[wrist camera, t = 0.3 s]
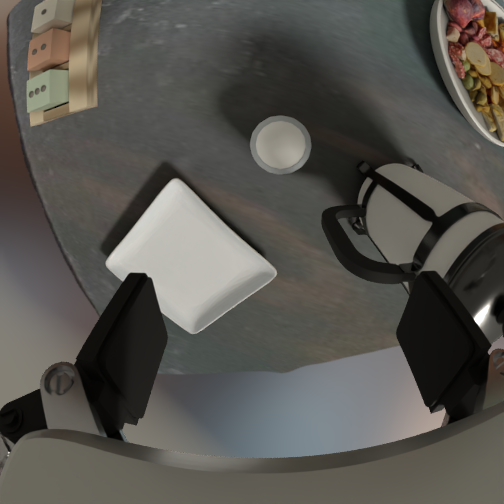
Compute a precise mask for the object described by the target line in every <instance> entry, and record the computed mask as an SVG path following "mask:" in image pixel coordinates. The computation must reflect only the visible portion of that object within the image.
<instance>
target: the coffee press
mask: <svg viewBox="0 0 504 504" xmlns="http://www.w3.org/2000/svg"><path fill="white" fill-rule="evenodd" d="M357 168H358V170H359V171H360V172H361V173H362V174H363V175H364V176H365V177H366V178H367V179H366V180H365V181H364V183H363V185H362V187H361V189H360V192H359V196H358V205H344V206H335V207H330V208H328V209H326V210H325V211H323V213H322V228H323V230H324V233H325V235H326V237H327V239H328V241H329V243H330V245H331V247H332V249H333V251H334V253H335V255H336V257H337V259H338V260H339V262H340V263H341V264H342V265H343V266H344V267H345V268H346V269H347V270H348V271H350V272H351V273H353V274H354V275H356V276H358V277H360V278H362V279H365V280H367V281H371V282H375V283H382V284H399V283H401V284H402V285H403V287H404V288H405V290H406V291H407V293H408V294H409V296H410V294H411V291H412V288H413V285H414V282H415V279H416V277H417V276H418V275H419V274H420V273H421V272H422V271H436V272H438V274H439V275H440V276H441V277H442V278H443V280H444V281H445V282H446V283H447V284H448V286H449V287H450V288H451V289H452V291H453V292H454V293H455V295H456V296H457V297H458V298H459V300H460V301H461V302H462V304H463V305H464V306H465V308H466V309H467V310H468V312H469V313H470V314H471V316H472V317H473V318H474V320H475V321H476V323H477V324H478V326H479V327H480V328H481V330H482V331H483V333H484V334H485V336H486V337H487V339H488V340H489V342H490V343H491V344H492V343H493V342H495V341H496V340H497V339H499V338H500V337H501V336H502V335H503V337H504V221H503V220H502V219H501V217H500V216H499V215H498V214H496V213H495V212H494V211H492V210H490V209H489V208H487V207H486V206H484V205H482V204H480V203H475V202H474V201H472V200H470V199H469V198H467V197H466V196H464V195H462V194H460V193H459V192H457V191H455V190H454V189H452V188H450V187H448V186H446V185H445V184H443V183H441V182H439V181H437V180H435V179H433V178H432V177H430V176H428V175H426V174H424V173H423V171H422V169H421V167H420V166H419V165H418V164H417V165H414V166H413V167H412V168H411V167H409V166H406V165H403V164H397V163H393V164H387V165H384V166H381V167H379V168H378V169H376V170H373V169H372V168H371V167H370V166H368V165H367V164H366V163H365V162H364V161H362V162H361V163H360V164H359V165H358V166H357ZM346 217H359V219H360V221H358V222H356V223H355V224H354V225H353V227H352V228H353V230H354V231H355V232H356V233H357V234H358V235H368V237H369V238H370V240H371V241H372V242H373V244H374V245H375V246H376V248H377V249H378V250H379V252H380V253H381V255H382V256H383V257H384V259H385V260H386V262H387V263H382V262H377V261H374V260H371V259H369V258H367V257H365V256H363V255H362V254H361V253H359V252H358V251H357V250H356V249H355V247H354V246H353V244H352V242H351V241H350V239H349V238H348V236H347V234H346V233H345V231H344V230H343V228H342V227H341V225H340V223H339V222H338V219H340V218H346ZM363 227H364V229H362V228H363ZM369 235H370V236H369ZM372 239H373V240H372ZM375 243H376V244H375ZM378 247H379V248H378ZM381 251H382V252H381ZM383 254H384V255H383ZM386 258H387V259H386ZM404 284H405V285H404ZM406 287H407V288H406ZM408 290H409V291H408Z"/></svg>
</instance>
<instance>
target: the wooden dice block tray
mask: <svg viewBox="0 0 504 504" xmlns="http://www.w3.org/2000/svg"><path fill="white" fill-rule="evenodd" d="M101 4H102V0H75V5H74V12H73V19H72V24H70V25H68V26H66V27H64V28H62V29H60V30H64V31H68V32H71V37H70V51H69V62H67V63H64V64H62V65H60V66H57V67H55V68H52V69H51V70H69V103H68V104H65V105H62V106H60V107H57V108H54V107H53V108H50V109H47V110H41V111H35V112H30V124H31V126H36V125H40V124H43V123H46V122H49V121H52V120H54V119H57V118H60V117H63V116H66V115H69V114H72V113H76V112H79V111H82V110H86V109H89V108H93V107H97V106H98V103H97V50H98V33H99V21H100V12H101ZM40 35H41V33H34V32H33V37H32V40H33V39H35V38H36V37H38V36H40ZM43 72H45V71H30V76H29V80H30V79H32V78H34V77H36V76H38V75H39V74H41V73H43Z"/></svg>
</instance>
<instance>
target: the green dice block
mask: <svg viewBox="0 0 504 504" xmlns="http://www.w3.org/2000/svg"><path fill="white" fill-rule="evenodd" d="M66 102H69V70H51V69H50V70H48V71H45V72H43V73H41V74H39V75H38V76H36V77H34V78H32V79H30V80H28V81H27V113H29V112H35V111H41V110H47V109H50V108H53V107H55V106H58V105H61V104H63V103H66Z"/></svg>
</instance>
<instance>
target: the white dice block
mask: <svg viewBox="0 0 504 504" xmlns="http://www.w3.org/2000/svg"><path fill="white" fill-rule="evenodd" d="M74 5H75V0H45V1H43V2H42V3H40V4H38V5H37V6H35V11H34V16H33V22H32V28H31V32H34V33H41V34H43V33H45V32H47V31H49V30H50V29H52V28H55V29H59V30H60V29H62V28H64V27H66V26H68V25H70V24H72V19H73V12H74Z"/></svg>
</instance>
